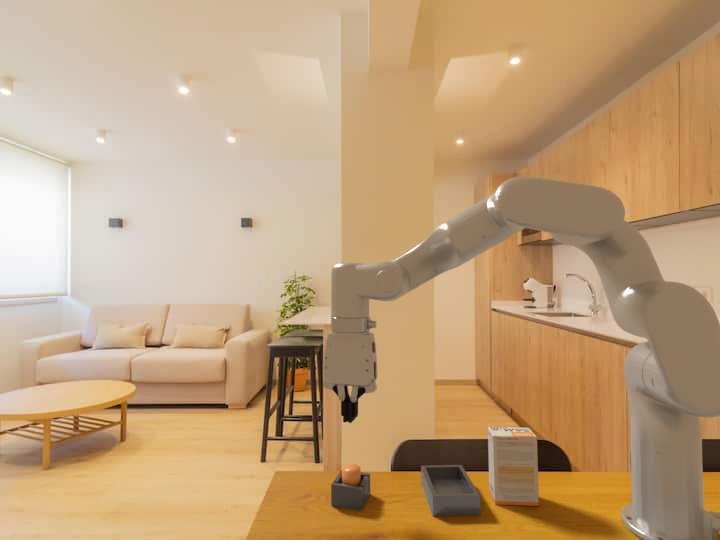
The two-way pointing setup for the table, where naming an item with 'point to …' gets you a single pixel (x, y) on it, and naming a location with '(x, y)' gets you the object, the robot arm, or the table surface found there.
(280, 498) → the table surface
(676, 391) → the robot arm
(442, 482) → the tray
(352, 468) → the button
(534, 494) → the supplement box
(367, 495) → the button housing
